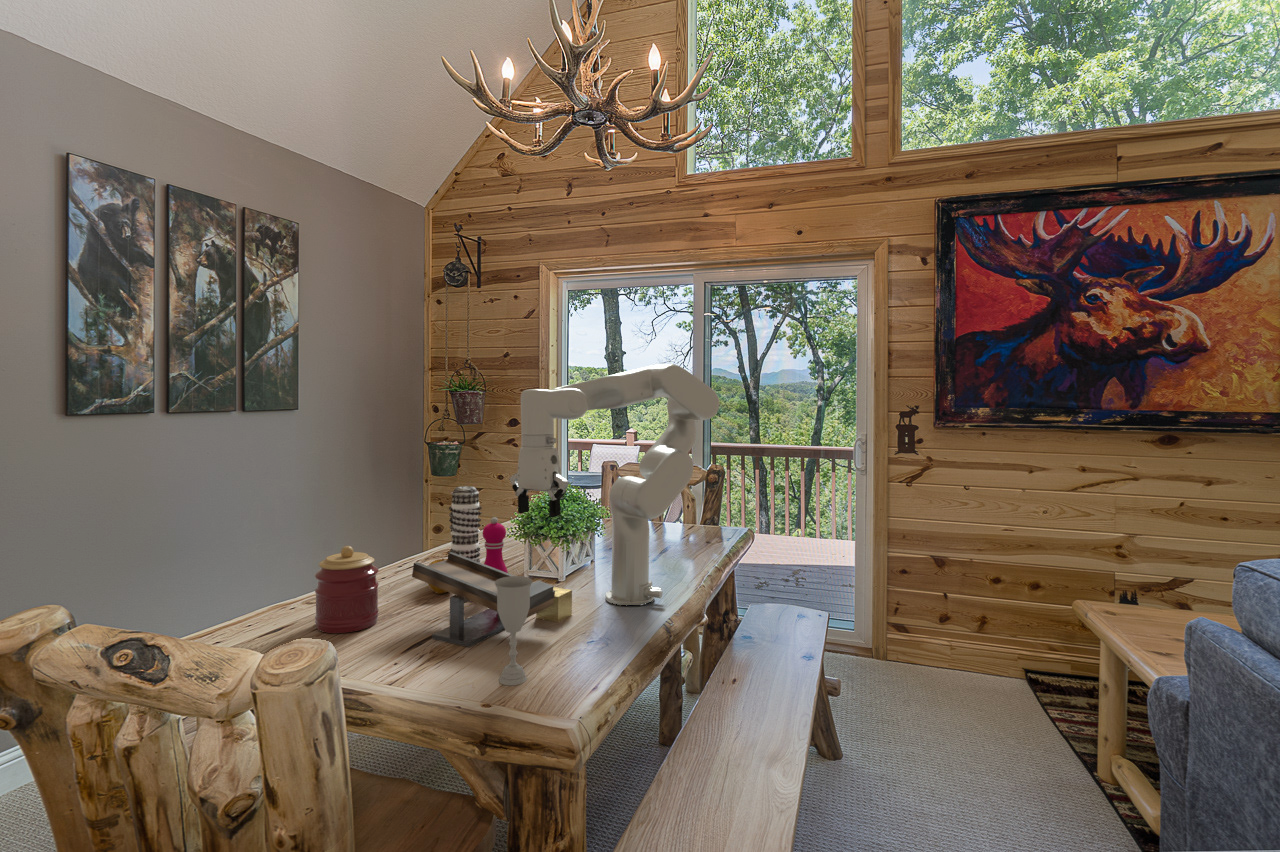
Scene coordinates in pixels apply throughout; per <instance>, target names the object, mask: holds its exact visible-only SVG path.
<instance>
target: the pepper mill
mask: <svg viewBox="0 0 1280 852" xmlns="http://www.w3.org/2000/svg"><path fill="white" fill-rule="evenodd" d="M506 536H507V529H506V527H505V526H504V524H502V523H499V519H498V517H491V519H490V523H488V524H486V525H485V526H484V527H483V530H482V537H483V539H484V548H485V553H486V554H485V558H484V559H485V560H484V562H483V564H485V565H487V566H490V567H493V568H495V569H498V570H501V571H503V572H506V573H509V572H508V567H507V566H506V563H505V560H504V558H503V548H504V547H505V541H504V539H505V537H506Z"/></svg>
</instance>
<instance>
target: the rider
mask: <svg viewBox="0 0 1280 852" xmlns="http://www.w3.org/2000/svg"><path fill="white" fill-rule="evenodd" d="M553 590H554V591H555V595H554V601H553V605H551V606H549V607H547V608H545V609H544V610H542V611H540V612H538V613H536V614H535V616H536V617H535V619H540V620H543V619H544V620H545V621H548V620H549V621H550V622H553V621H554V622H555V623H559V621H560V622H561V621H563V620H565V619H567V618H568V617H570V616H572V615H573V605H572V604H573V590H572V589H567V588H561V587H556V586H554V587H553ZM571 614H572V615H571ZM566 617H567V618H566ZM544 620H543V621H544Z"/></svg>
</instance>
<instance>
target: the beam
mask: <svg viewBox="0 0 1280 852" xmlns="http://www.w3.org/2000/svg"><path fill="white" fill-rule="evenodd" d="M447 554H448V555H447V558H446V559H447V560H443V561H440V562H437V563H434V564H431V565H429V564H427V565H425V564H423V563H420V562H418V561H416V562H413V567H412V575H411V577H412V578H415V579H417V580H419V581H422V582H423V583H426V584H427V585H428V584H431V585H433V586H436V587H438V588H440V589H443V590H445V591H448V593H451V594H453V595H458V596H463V597H464V604H467V603H469V602H473V603H475V604H478V605H480V606H482V607H484V608H487V609H492V610H494V611H496V612H498V611H497V587H496V585H495V581H496V580H498V579H500V578H503V577H509V576H515V575H514V574H511V573H509V572H508V573H506V572H503V571H501V570H498V569H495V568H493V567H490V566H487V565H485V564H484V563H482V562H480V563H479V562H477V561H474V560H471V559H469V558H466V557H463V556H461V555H458V554H455V553H453V552H451V551H449V552H448V553H447ZM553 587H555V586H554V585H553V584H549V583H547V582H544V581H542V580H536V581H533V582H532V584H531V586H530V608H529V611H528V615H527V618H526V619H528V618H530V617H532V616H534V615H536V613H538V612H540V611H542V610H544V609H545V608H547V607H549V606H551V605H553V601H554V595H555V591H554V590H553Z"/></svg>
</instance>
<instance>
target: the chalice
mask: <svg viewBox="0 0 1280 852" xmlns="http://www.w3.org/2000/svg"><path fill="white" fill-rule="evenodd" d="M532 582H533V583H534V581H533V579H532V578H531V577H528V576H522V575H514V576H509V577H503V578H500V579H498V580H496V581H495V585H496V587H497V611H498V614H499V617H500V620H501V622H502V624H503V626H504V628H505V629H504V631H506V633H510V640H509V642H508V644H509V646H510V650H509V651H508V653H507V654H508V655H509V657H510V662H509V663H508V664H507V665H505V666H504V667H503V669H502V672H501V673H500V677H499V679H498V682H499V683H500V684H501V685H505V686H518V685H521V684H524V683H525V682H526V681H527V679H528V678H527V677H528V676H527V675H526V673H525V670H524V667H523V666H522V665H521V664H519V663H518V662H517V661H516V658H517V655H518V654H519V652H518V651H517V649H516V648H517V644H518V643H519V642H518V641H517V637H516V636H517V633H518V632H520V631H521V630H522V629H523V626H524V624H525V622H526V619H528V618H527V615H528V611H529V608H530V586H531V584H532Z"/></svg>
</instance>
